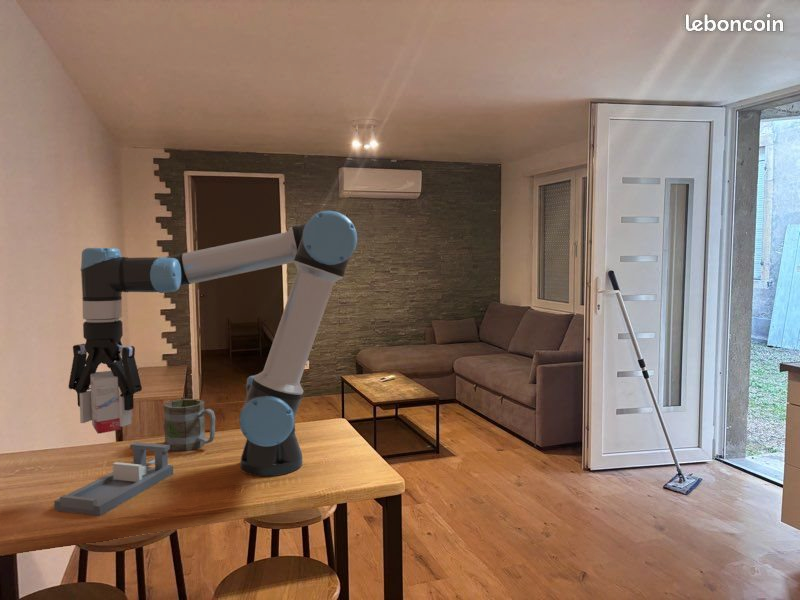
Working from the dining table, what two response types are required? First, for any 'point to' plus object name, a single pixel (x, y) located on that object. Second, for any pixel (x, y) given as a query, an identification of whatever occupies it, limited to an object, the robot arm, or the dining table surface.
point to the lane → (117, 484)
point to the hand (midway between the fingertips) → (106, 423)
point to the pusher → (130, 471)
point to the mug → (186, 425)
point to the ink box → (105, 402)
